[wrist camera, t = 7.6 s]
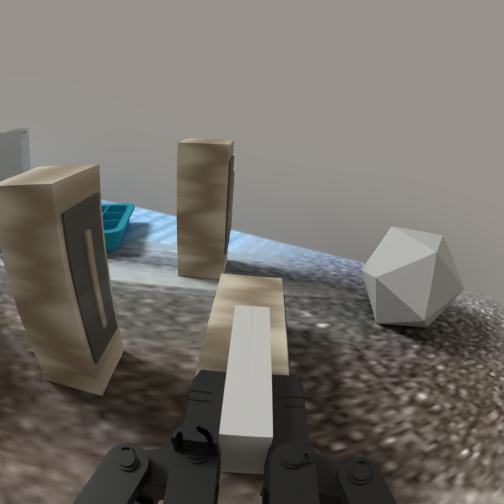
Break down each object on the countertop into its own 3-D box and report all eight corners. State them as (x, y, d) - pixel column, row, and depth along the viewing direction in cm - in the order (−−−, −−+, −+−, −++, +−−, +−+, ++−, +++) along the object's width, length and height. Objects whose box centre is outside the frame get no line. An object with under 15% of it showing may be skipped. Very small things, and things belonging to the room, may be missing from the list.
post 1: (46, 379, 16) (-11, 186, 11) (72, 340, 20) (38, 167, 15) (106, 397, 16) (57, 183, 11) (128, 351, 20) (104, 164, 15)
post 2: (178, 275, 31) (177, 142, 25) (187, 256, 35) (189, 138, 30) (226, 279, 31) (233, 144, 25) (230, 259, 35) (237, 140, 30)
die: (427, 303, 30) (396, 217, 30) (486, 308, 21) (454, 199, 21) (368, 343, 29) (331, 250, 29) (424, 363, 20) (383, 240, 20)
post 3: (184, 419, 12) (221, 273, 23) (191, 463, 13) (220, 321, 25) (299, 429, 12) (286, 278, 23) (283, 471, 13) (279, 326, 25)
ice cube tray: (23, 226, 41) (20, 209, 39) (136, 222, 45) (136, 203, 44) (-10, 258, 30) (-15, 237, 29) (123, 256, 35) (121, 232, 33)
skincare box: (29, 221, 42) (21, 127, 35) (-4, 227, 39) (-14, 135, 32) (36, 207, 49) (30, 126, 42) (6, 212, 45) (-1, 132, 39)
